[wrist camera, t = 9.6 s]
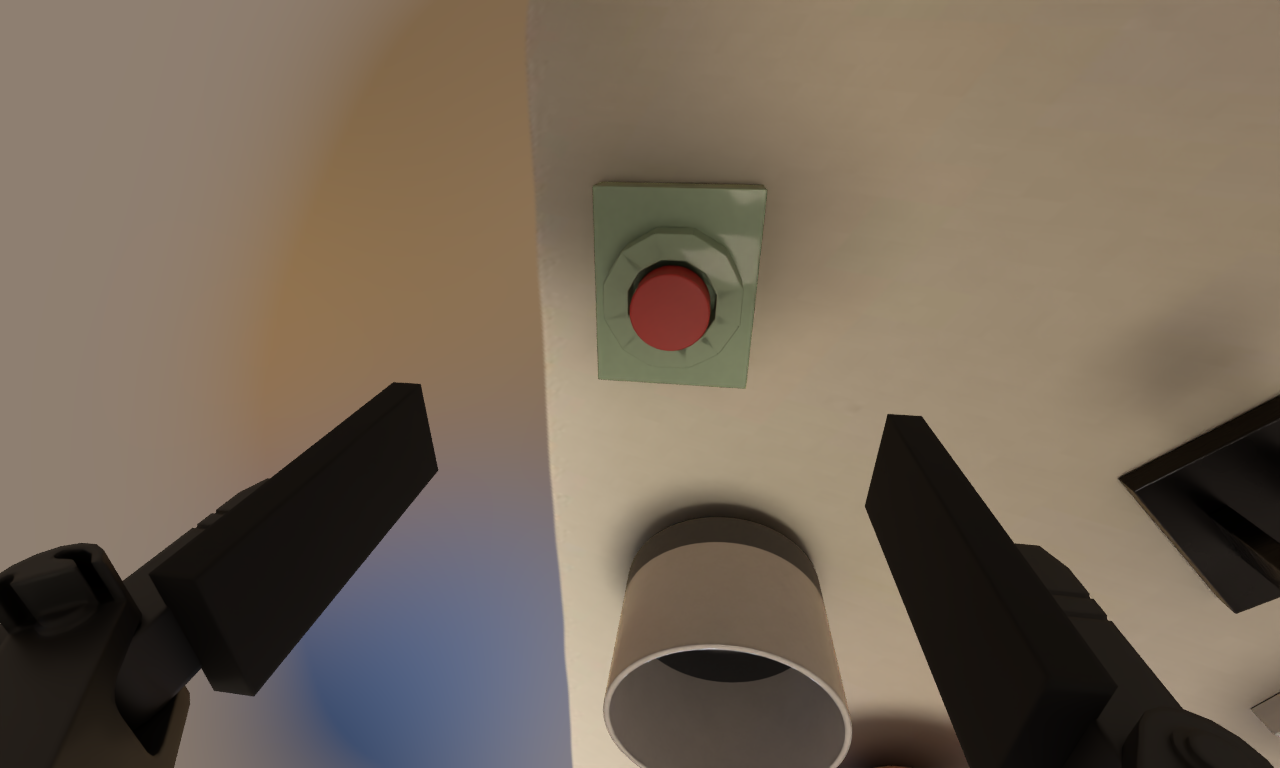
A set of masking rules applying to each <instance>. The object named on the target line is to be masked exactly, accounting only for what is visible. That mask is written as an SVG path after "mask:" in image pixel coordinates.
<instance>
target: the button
mask: <svg viewBox="0 0 1280 768" xmlns="http://www.w3.org/2000/svg"><path fill="white" fill-rule="evenodd" d="M629 312H630V320H631V324H632V326H633V328H634V330H635V332H636V333H637V335H638V336H639V337H640V338H641V339H642V340H643V341H644V342H645V343H647V344H648V345H650V346H652V347H654V348H656V349H659V350H664V351H677V350H681V349H685V348H687V347H689V346H691V345H693V344H694V343H696V342H697V341H698V340H699V339H700V338H701V337H702V335H703V334H704V332H705V331H706V329H707V327H708V324H709V320H710V295H709V291H708V288H707V286H706V284H705V283H704V281H703V280H702V279H701V278H700V277H699V276H698V275H697V274H696V273H695V272H693V271H692V270H690V269H688V268H685V267H682V266H677V265H667V266H662V267H658V268H656V269H654V270H652V271H651V272H649V273H648V274H647V275H646V276H645V277H644V278H643V279H642V280H641V282H640V283H639V285H638V287H637V289H636V291H635V293H634V295H633V297H632V300H631V303H630V311H629Z"/></svg>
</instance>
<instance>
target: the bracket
mask: <svg viewBox="0 0 1280 768" xmlns="http://www.w3.org/2000/svg"><path fill="white" fill-rule="evenodd" d="M1120 481H1121V482H1122V483H1123V485H1124V486H1125V487H1126V488H1127V489H1128V491H1129V492H1130V493H1131V494H1132V495H1133V497H1134V498H1135V499H1136V500H1137V501H1138V503H1139V504H1140V505H1141V506H1142V507H1143V509H1144V510H1145V511H1146V512H1147V513H1148V515H1149V516H1150V517H1151V518H1152V519H1153V521H1154V522H1155V523H1156V524H1157V525H1158V526H1159V528H1160V529H1161V530H1162V531H1163V532H1164V534H1165V535H1166V536H1167V537H1168V538H1169V540H1170V541H1171V542H1172V543H1173V544H1174V546H1175V547H1176V548H1177V549H1178V550H1179V552H1180V553H1181V554H1182V555H1183V556H1184V558H1185V559H1186V560H1187V561H1188V562H1189V564H1190V565H1191V566H1192V567H1193V568H1194V570H1195V571H1196V572H1197V573H1198V574H1199V576H1200V577H1201V578H1202V579H1203V580H1204V581H1205V583H1206V584H1207V585H1208V586H1209V587H1210V589H1211V590H1212V591H1213V592H1214V593H1215V595H1216V596H1217V597H1218V598H1219V599H1220V600H1221V601H1222V602H1223V603H1224V604H1225V605H1226V606H1227V607H1228V608H1229V609H1231V610H1232V611H1233V612H1234V613H1236V614H1237V613H1240V612H1242V611H1245V610H1248V609H1250V608H1253V607H1255V606H1258V605H1261V604H1263V603H1266V602H1269V601H1271V600H1274V599H1276V598H1279V597H1280V396H1279V397H1277V398H1275V399H1273V400H1272V401H1270V402H1268V403H1266V404H1264V405H1262V406H1260V407H1258V408H1256V409H1254V410H1252V411H1250V412H1248V413H1246V414H1244V415H1242V416H1240V417H1238V418H1236V419H1235V420H1233V421H1231V422H1229V423H1227V424H1225V425H1223V426H1221V427H1219V428H1217V429H1215V430H1213V431H1211V432H1209V433H1207V434H1205V435H1203V436H1201V437H1199V438H1198V439H1196V440H1194V441H1192V442H1190V443H1188V444H1186V445H1184V446H1182V447H1180V448H1178V449H1176V450H1174V451H1172V452H1170V453H1168V454H1166V455H1164V456H1162V457H1161V458H1159V459H1157V460H1155V461H1153V462H1151V463H1149V464H1147V465H1145V466H1143V467H1141V468H1139V469H1137V470H1135V471H1133V472H1131V473H1129V474H1127V475H1125V476H1124V477H1122V478H1120Z"/></svg>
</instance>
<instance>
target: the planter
mask: <svg viewBox="0 0 1280 768" xmlns="http://www.w3.org/2000/svg"><path fill="white" fill-rule="evenodd" d="M603 714H604V721H605V724H606V727H607V730H608V732H609V734H610V736H611V738H612V740H613V741H614V743H615V744H616V745H617V747H618V748H619V749H620V750H621V751H622V752H623V753H624V754H625V755H626V756H627V757H628V758H629V759H630V760H631V761H632V762H634V763H635V764H636V765H638V766H639V767H640V768H837V767H838V766H839V765H840V763H841V762H842V761H843V759H844V758H845V756H846V754H847V752H848V750H849V748H850V744H851V740H852V723H851V718H850V714H849V710H848V705H847V701H846V697H845V692H844V688H843V684H842V679H841V675H840V671H839V666H838V662H837V658H836V653H835V649H834V645H833V640H832V636H831V632H830V627H829V623H828V619H827V614H826V610H825V606H824V602H823V597H822V593H821V589H820V584H819V580H818V576H817V574H816V571H815V569H814V567H813V565H812V563H811V561H810V560H809V559H808V557H807V556H806V555H805V553H804V552H803V551H802V550H801V549H800V548H799V547H798V546H797V545H796V544H795V543H793V542H792V541H791V540H789V539H788V538H787V537H785V536H784V535H782V534H780V533H778V532H777V531H775V530H773V529H771V528H768V527H766V526H763V525H761V524H758V523H755V522H751V521H747V520H742V519H737V518H727V517H707V518H698V519H693V520H688V521H684V522H681V523H678V524H675V525H672V526H670V527H668V528H666V529H664V530H662V531H661V532H659V533H657V534H656V535H654V536H653V537H652V538H651V539H649V540H648V541H647V542H646V543H645V544H644V545H643V546H642V547H641V549H640V550H639V551H638V553H637V554H636V556H635V558H634V559H633V562H632V564H631V567H630V571H629V575H628V580H627V586H626V591H625V596H624V601H623V606H622V611H621V616H620V621H619V627H618V632H617V637H616V642H615V647H614V652H613V657H612V662H611V667H610V673H609V678H608V683H607V688H606V693H605V698H604V705H603Z"/></svg>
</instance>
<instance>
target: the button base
mask: <svg viewBox="0 0 1280 768" xmlns="http://www.w3.org/2000/svg"><path fill="white" fill-rule="evenodd" d="M766 199H767V189H766V188H765V187H764V186H763V185H742V184H692V183H641V182H601V183H598V184H596V185H594V186H593V220H594V253H595V285H596V318H597V350H598V379H601V380H617V381H633V382H648V383H664V384H680V385H695V386H711V387H727V388H742V389H745V388H746V382H747V373H748V363H749V354H750V345H751V336H752V327H753V318H754V309H755V300H756V290H757V281H758V272H759V263H760V254H761V245H762V236H763V226H764V217H765V208H766ZM667 265H677V266H682V267H685V268H688V269H690V270H692V271H693V272H695V273H696V274H697V275H698V276H699V277H700V278H701V279H702V280H703V281H704V283H705V284H706V286H707V288H708V291H709V295H710V320H709V324H708V327H707V329H706V331H705V332H704V334H703V335H702V337H701V338H700V339H699V340H698V341H697V342H696V343H694V344H693V345H691V346H689V347H687V348H685V349H681V350H677V351H664V350H659V349H656V348H654V347H652V346H650V345H648V344H647V343H645V342H644V341H643V340H642V339H641V338H640V337H639V336H638V335H637V333H636V332H635V330H634V328H633V326H632V324H631V320H630V312H629V311H630V303H631V300H632V297H633V295H634V293H635V291H636V289H637V287H638V285H639V283H640V282H641V280H642V279H643V278H644V277H645V276H646V275H647V274H648V273H649V272H651V271H652V270H654V269H656V268H658V267H662V266H667Z"/></svg>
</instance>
